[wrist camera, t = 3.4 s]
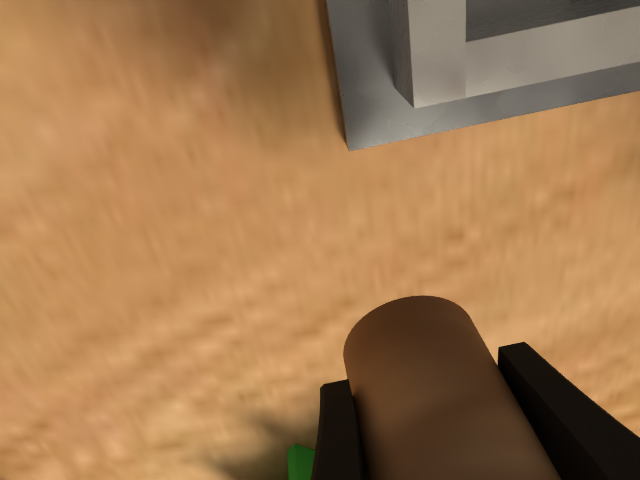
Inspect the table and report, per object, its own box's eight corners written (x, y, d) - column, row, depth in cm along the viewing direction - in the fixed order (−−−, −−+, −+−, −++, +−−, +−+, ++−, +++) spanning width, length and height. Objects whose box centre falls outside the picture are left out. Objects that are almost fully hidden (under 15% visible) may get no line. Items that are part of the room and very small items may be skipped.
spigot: (474, 282, 11) (646, 551, 6) (473, 376, 13) (603, 639, 8) (333, 312, 11) (390, 604, 6) (353, 402, 13) (409, 678, 8)
